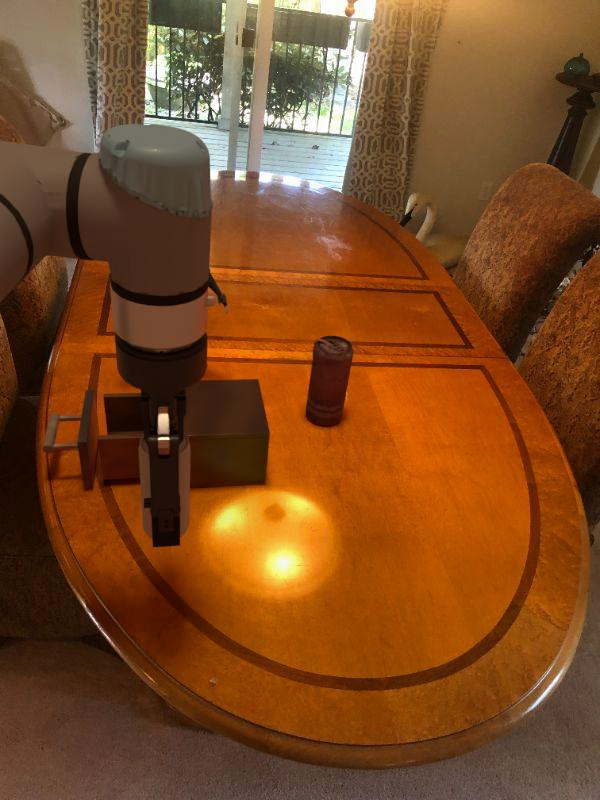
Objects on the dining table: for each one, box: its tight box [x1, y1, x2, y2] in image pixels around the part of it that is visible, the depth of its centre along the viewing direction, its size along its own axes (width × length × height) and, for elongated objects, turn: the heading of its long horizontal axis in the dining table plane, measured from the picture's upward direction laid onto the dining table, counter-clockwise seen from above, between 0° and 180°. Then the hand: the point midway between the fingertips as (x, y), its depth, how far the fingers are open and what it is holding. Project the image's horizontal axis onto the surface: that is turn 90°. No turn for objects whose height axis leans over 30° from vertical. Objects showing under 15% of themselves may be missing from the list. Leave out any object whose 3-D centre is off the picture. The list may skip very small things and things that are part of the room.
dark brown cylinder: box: [305, 335, 354, 427], centre depth 98 cm, size 6×6×14 cm
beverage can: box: [138, 428, 191, 540], centre depth 61 cm, size 5×5×12 cm
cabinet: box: [177, 378, 271, 489], centre depth 89 cm, size 15×13×10 cm
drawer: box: [41, 389, 152, 487], centre depth 86 cm, size 18×11×8 cm, turn 100°
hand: (166, 522), depth 64 cm, fingers closed on beverage can, 5 cm apart
